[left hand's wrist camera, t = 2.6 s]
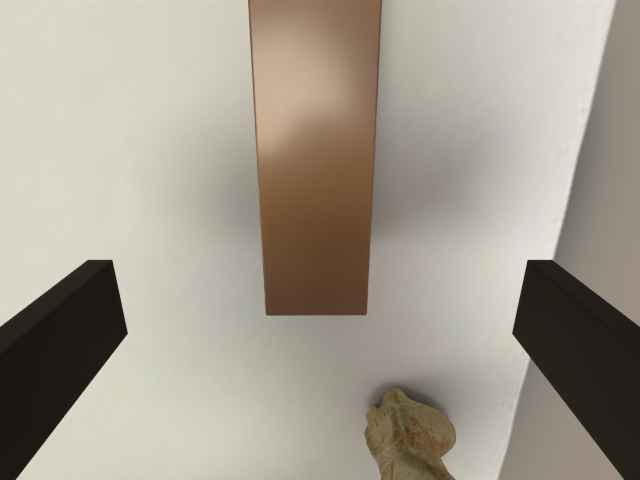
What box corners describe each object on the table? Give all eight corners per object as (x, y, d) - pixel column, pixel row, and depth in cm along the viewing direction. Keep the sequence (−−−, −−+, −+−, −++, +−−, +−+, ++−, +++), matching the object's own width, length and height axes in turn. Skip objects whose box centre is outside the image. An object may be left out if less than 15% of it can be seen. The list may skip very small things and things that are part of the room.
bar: (351, 246, 28) (366, 315, 19) (281, 246, 28) (265, 315, 19) (365, -192, 19) (402, -403, 11) (264, -192, 19) (224, -404, 11)
